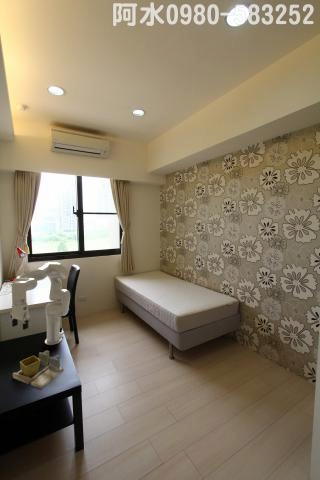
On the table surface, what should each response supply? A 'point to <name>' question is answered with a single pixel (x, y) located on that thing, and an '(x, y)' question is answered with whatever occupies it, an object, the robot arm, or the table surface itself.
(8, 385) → the table surface
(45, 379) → the beige l-shaped piece
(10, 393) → the table surface
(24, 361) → the flower pot
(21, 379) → the wooden frame with block
